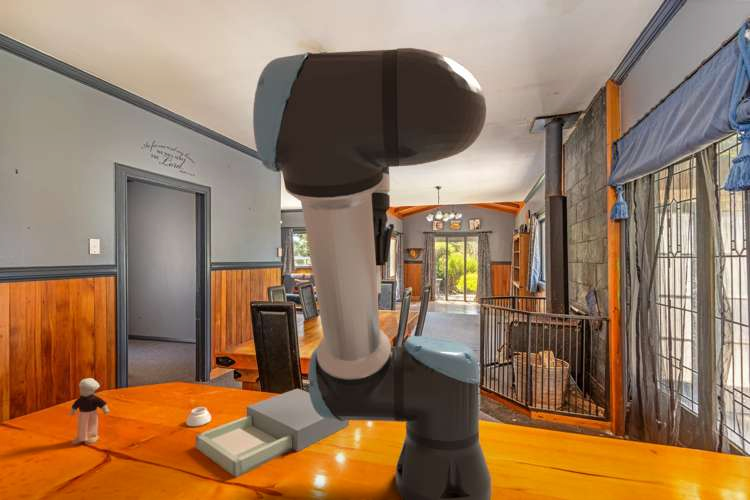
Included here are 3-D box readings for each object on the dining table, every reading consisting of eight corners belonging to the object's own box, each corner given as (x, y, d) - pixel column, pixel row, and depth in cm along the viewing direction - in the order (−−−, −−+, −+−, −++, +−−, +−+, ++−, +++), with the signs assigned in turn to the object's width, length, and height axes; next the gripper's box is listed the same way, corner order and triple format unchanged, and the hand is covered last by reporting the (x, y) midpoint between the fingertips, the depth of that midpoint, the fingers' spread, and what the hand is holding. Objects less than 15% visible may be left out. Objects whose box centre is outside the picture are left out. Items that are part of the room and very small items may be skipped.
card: (234, 455, 66) (234, 463, 66) (264, 442, 70) (264, 449, 70) (210, 439, 72) (210, 446, 72) (239, 428, 76) (239, 435, 76)
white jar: (216, 419, 85) (199, 416, 87) (215, 406, 85) (199, 404, 87) (198, 429, 80) (181, 426, 82) (198, 415, 80) (181, 412, 82)
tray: (291, 449, 71) (291, 436, 71) (235, 477, 63) (235, 462, 63) (249, 426, 81) (249, 415, 81) (195, 448, 72) (195, 435, 72)
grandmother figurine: (60, 447, 73) (61, 383, 73) (72, 438, 77) (72, 376, 77) (105, 443, 74) (105, 380, 75) (114, 434, 78) (114, 374, 78)
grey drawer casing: (348, 425, 81) (348, 407, 81) (297, 451, 71) (297, 430, 71) (297, 404, 93) (297, 388, 93) (246, 424, 82) (246, 406, 82)
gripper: (379, 198, 95) (379, 289, 95) (343, 192, 86) (343, 294, 85) (402, 195, 91) (403, 291, 90) (367, 188, 81) (368, 296, 80)
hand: (374, 292), depth 88 cm, fingers closed
